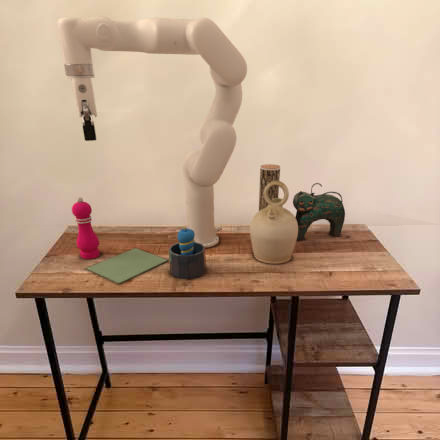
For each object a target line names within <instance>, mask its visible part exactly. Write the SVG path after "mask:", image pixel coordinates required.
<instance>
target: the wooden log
mask: <svg viewBox="0 0 440 440" xmlns="http://www.w3.org/2000/svg"><path fill="white" fill-rule="evenodd" d="M280 177H281V166H280V165H278V164H273V163H269V164H262V165H260V169H259V190H258V191H259V192H258V212H259V211H260V210H262V209H263V208H266V207H267V206H268V203H267V202H266V201H265V199H264V189H265V187H266V186H267V184H269V183H270V182H272V181H276V180H278V181H280V180H281V179H280ZM279 192H280V187H279V186H273V187H271V188H270V190H269V197H270V199H271V200H272V199H273V198H279V195H280V194H279Z"/></svg>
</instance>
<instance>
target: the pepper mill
mask: <svg viewBox="0 0 440 440" xmlns="http://www.w3.org/2000/svg"><path fill="white" fill-rule="evenodd" d="M92 210H93V209H92V206H91V204H90V203H88V202H87V201H84V199H83V197H81V196H78V197H76V202H74V204H73V205H72V206H71V212H72V213H71V214H72V216H74V217H75V218H74V220H75V223H76V224H77V228H78V231H77V232H78V233H77V237H76V247H77V248H78V249H79V256H80V258H82V259H83V260H92V259H96V258H98V257H99V256H100V249H99V246H100V240H99V237H98V236H97V234H96V233H95V230H94V229H93V227H92V221H93V219H92V216H91V214H92V212H93V211H92Z"/></svg>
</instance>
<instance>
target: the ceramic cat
mask: <svg viewBox="0 0 440 440" xmlns="http://www.w3.org/2000/svg"><path fill="white" fill-rule="evenodd" d="M316 185H319V186H320V187H321V188H322V187H323V185H322V184H321V183H320V182H316V183H314V184H312V185H311V188H310V193H309V192H306V191H301V190H300V191H299V192H297V193H296V194H294V196H293V198H292V205H293V207H294V209H295V210H296V212H295V218H296V220H297V223H298V236H297V240H296V242H297V241H304V240H305V237H306V234H307V232H308V229H309V228H310V227H311V225H312V224H313V223H314V222H317V221H321V220H325V221H327V222H329V235H331V236H332V237H339V236H341V233H342V229H343V226H344V223H345V218H346V209H345V207H344V206H345V205H344V204H343V196H342V195H341V193H339V192H337V191H327V192H326V191H325V192H324V193H321V194H320V193H319V194H316V192H313V187H314V186H316ZM330 193H331V194H330ZM333 194H337V195H338V196H339V197H340V198H338V197H337V196H335V195H333Z"/></svg>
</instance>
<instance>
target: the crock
mask: <svg viewBox="0 0 440 440" xmlns="http://www.w3.org/2000/svg"><path fill="white" fill-rule="evenodd" d="M193 247H194V251H193V254H192V255H181V249H180V247H179V242H176V243H173V244H172V245H170V246H169V248H168V261H169V272H170V273H171V275H172V276H173V277H176V278H179V279H186V280H190V279H195V278H199V277H201V276H203V275H205V272H206V271H207V262H206V261H207V260H206V248H205V247H204V246H203V244H200V243H197V242H195V243H194V246H193Z"/></svg>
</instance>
